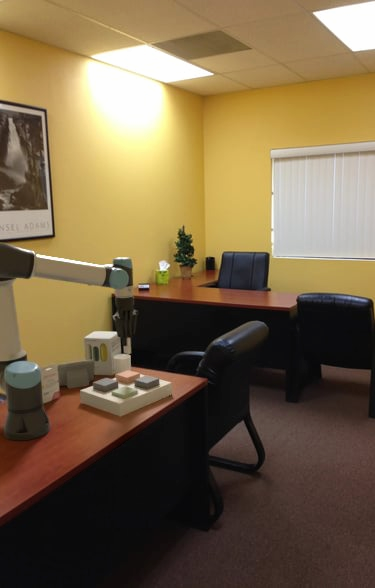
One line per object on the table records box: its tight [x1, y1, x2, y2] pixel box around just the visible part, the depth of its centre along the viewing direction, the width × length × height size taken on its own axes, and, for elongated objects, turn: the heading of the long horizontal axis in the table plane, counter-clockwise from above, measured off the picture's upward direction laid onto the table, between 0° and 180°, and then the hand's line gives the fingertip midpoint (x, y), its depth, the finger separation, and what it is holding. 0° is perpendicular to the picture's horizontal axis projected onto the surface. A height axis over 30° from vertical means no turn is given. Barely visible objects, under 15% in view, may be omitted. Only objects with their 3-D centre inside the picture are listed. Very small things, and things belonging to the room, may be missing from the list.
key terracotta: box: [116, 370, 141, 384], centre depth 213 cm, size 7×7×5 cm
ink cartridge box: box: [40, 362, 61, 405], centre depth 206 cm, size 9×5×15 cm, turn 143°
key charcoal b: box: [134, 374, 160, 390], centre depth 206 cm, size 7×7×5 cm
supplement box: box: [83, 330, 122, 376], centre depth 241 cm, size 13×13×18 cm
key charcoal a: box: [92, 377, 118, 392], centre depth 204 cm, size 7×7×5 cm
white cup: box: [113, 353, 132, 378], centre depth 230 cm, size 8×8×10 cm
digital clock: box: [57, 359, 95, 390], centre depth 223 cm, size 16×9×11 cm, turn 102°
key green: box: [112, 386, 138, 399], centre depth 198 cm, size 7×7×5 cm
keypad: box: [79, 373, 173, 418], centre depth 206 cm, size 28×23×5 cm
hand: (127, 352), depth 211 cm, fingers closed
